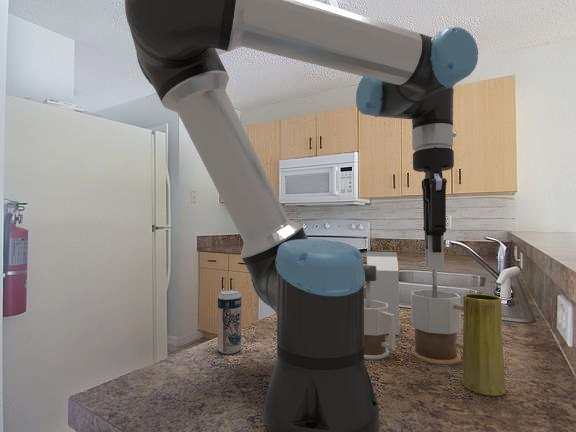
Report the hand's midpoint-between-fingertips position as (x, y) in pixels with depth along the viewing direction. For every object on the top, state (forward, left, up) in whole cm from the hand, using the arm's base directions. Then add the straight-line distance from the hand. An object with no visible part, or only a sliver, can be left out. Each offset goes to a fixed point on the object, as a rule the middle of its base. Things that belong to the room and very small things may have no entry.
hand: (434, 267), depth 67 cm
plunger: (0, 0, -7) cm, 7 cm away
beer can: (-34, +23, -17) cm, 45 cm away
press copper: (0, -1, -17) cm, 17 cm away
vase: (-5, -12, -17) cm, 22 cm away
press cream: (-10, +7, -17) cm, 21 cm away
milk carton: (+3, +17, -17) cm, 24 cm away
